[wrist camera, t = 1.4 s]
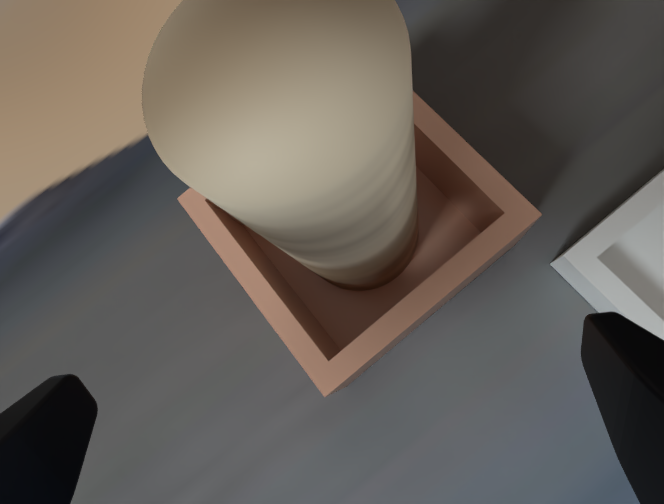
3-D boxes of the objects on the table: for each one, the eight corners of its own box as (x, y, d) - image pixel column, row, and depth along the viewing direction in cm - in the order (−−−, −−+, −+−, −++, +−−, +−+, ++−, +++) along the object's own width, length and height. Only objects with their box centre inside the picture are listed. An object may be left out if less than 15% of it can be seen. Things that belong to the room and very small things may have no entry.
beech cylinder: (443, 237, 19) (474, 66, 7) (351, 315, 19) (241, 265, 8) (366, 155, 20) (292, -96, 9) (281, 228, 20) (97, 74, 9)
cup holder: (515, 244, 19) (542, 214, 15) (347, 386, 19) (324, 397, 15) (373, 102, 21) (360, 41, 17) (226, 228, 22) (177, 198, 17)
